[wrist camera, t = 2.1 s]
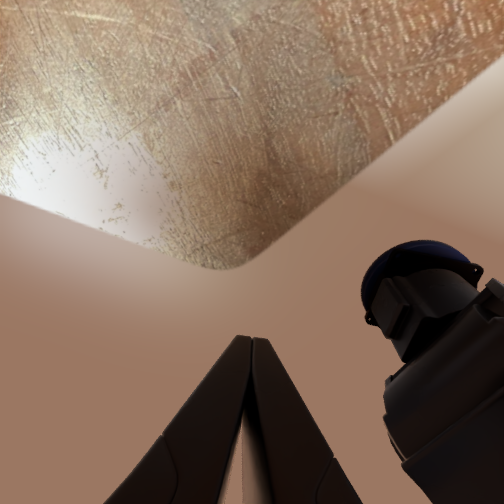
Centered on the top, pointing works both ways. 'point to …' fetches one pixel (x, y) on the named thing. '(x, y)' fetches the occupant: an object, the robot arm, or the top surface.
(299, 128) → the top surface
